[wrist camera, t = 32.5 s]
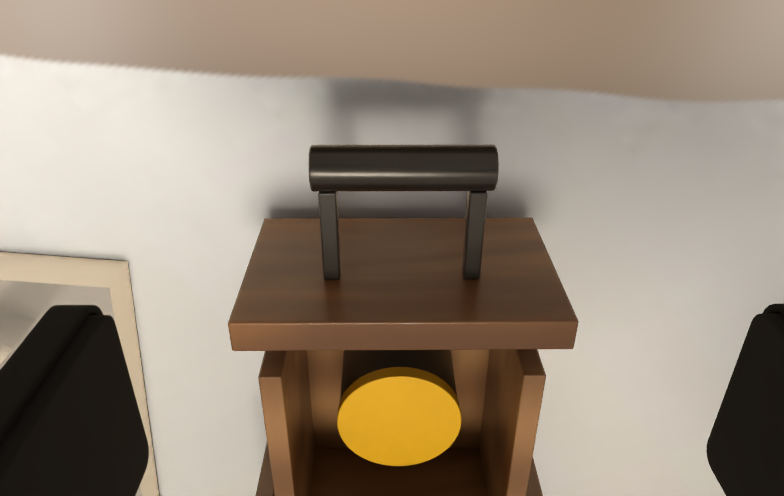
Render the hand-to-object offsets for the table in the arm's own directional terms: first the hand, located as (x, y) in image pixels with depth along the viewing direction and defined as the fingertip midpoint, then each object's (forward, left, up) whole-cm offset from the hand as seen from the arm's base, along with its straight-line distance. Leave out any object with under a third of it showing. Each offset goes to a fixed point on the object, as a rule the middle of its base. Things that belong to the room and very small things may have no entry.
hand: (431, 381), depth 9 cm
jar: (0, +13, -15) cm, 20 cm away
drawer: (0, +10, -16) cm, 19 cm away
